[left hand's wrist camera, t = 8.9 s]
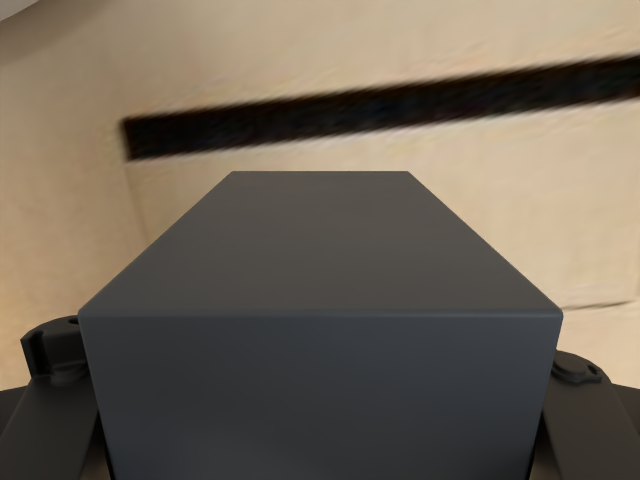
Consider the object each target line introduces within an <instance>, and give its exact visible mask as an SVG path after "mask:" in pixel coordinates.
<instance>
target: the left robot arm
mask: <svg viewBox="0 0 640 480" xmlns="http://www.w3.org/2000/svg"><path fill="white" fill-rule="evenodd" d="M77 316H78V315H73V316H67V317H62V318H58V319H54V320H52V321H49V322H46V323H44V324H41V325H39V326H37V327H36V328H34V329H32V330H30V331H29V332H28V333H27V334H26V335H25V336H23V337H22V338H21V339H20V341H21V344H22V348H23V351H24V355H25V358H26V361H27V365H28V368H29V371H30V375H31V380H30V382H29V384H28V385H27V386H23V387H18V388H13V389H8V390H3V391H0V480H115V477H114V473H113V469H112V464H111V460H110V456H109V451H108V447H107V443H106V438H105V434H104V430H103V426H102V421H101V417H100V413H99V408H98V404H97V400H96V395H95V391H94V387H93V382H92V378H91V374H90V370H89V365H88V361H87V357H86V352H85V348H84V344H83V339H82V335H81V331H80V326H79V322H78V318H77ZM526 480H640V389H636V388H631V387H626V386H621V385H617V384H613V383H611V381H610V379H609V377H608V376H607V375H606V374H605V373H604V372H603V370H602V369H601V368H599V367H598V366H596V365H595V364H593V363H592V362H591V361H589V360H587V359H584V358H582V357H580V356H577V355H575V354H571V353H567V352H563V351H558V350H557V349H556V351H555V355H554V359H553V364H552V368H551V372H550V377H549V381H548V385H547V390H546V394H545V398H544V402H543V407H542V411H541V415H540V420H539V424H538V428H537V433H536V437H535V441H534V445H533V450H532V454H531V458H530V463H529V467H528V471H527V476H526Z"/></svg>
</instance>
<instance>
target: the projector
mask: <svg viewBox="0 0 640 480" xmlns="http://www.w3.org/2000/svg"><path fill="white" fill-rule="evenodd" d="M37 1H39V0H0V21H2V20H4V19H6V18H8V17H10V16H12V15H14V14H16V13H18V12H20V11H21V10H23V9H25V8H27V7H29V6H30V5H32V4H34V3H36V2H37Z"/></svg>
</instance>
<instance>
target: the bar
mask: <svg viewBox="0 0 640 480" xmlns="http://www.w3.org/2000/svg"><path fill="white" fill-rule="evenodd" d="M77 318H78V322H79V326H80V331H81V335H82V339H83V344H84V348H85V352H86V357H87V361H88V365H89V370H90V374H91V378H92V382H93V387H94V391H95V395H96V400H97V404H98V408H99V413H100V417H101V421H102V426H103V430H104V434H105V438H106V443H107V447H108V451H109V456H110V460H111V464H112V469H113V473H114V477H115V480H526V476H527V471H528V467H529V463H530V458H531V454H532V450H533V445H534V441H535V437H536V433H537V428H538V424H539V420H540V415H541V411H542V407H543V402H544V398H545V394H546V390H547V385H548V381H549V377H550V372H551V368H552V364H553V359H554V355H555V351H556V347H557V342H558V338H559V334H560V329H561V325H562V321H563V312H562V310H561V309H560V308H559V307H558V306H557V305H556V304H554V303H553V302H552V301H551V300H550V299H549V298H548V297H547V296H546V295H545V294H543V293H542V292H541V291H540V290H539V289H538V288H537V287H536V286H535V285H533V284H532V283H531V282H530V281H529V280H528V279H527V278H526V277H525V276H523V275H522V274H521V273H520V272H519V271H518V270H517V269H516V268H515V267H513V266H512V265H511V264H510V263H509V262H508V261H507V260H506V259H505V258H504V257H502V256H501V255H500V254H499V253H498V252H497V251H496V250H495V249H494V248H492V247H491V246H490V245H489V244H488V243H487V242H486V241H485V240H484V239H482V238H481V237H480V236H479V235H478V234H477V233H476V232H475V231H474V230H472V229H471V228H470V227H469V226H468V225H467V224H466V223H465V222H464V221H463V220H461V219H460V218H459V217H458V216H457V215H456V214H455V213H454V212H453V211H451V210H450V209H449V208H448V207H447V206H446V205H445V204H444V203H443V202H441V201H440V200H439V199H438V198H437V197H436V196H435V195H434V194H433V193H431V192H430V191H429V190H428V189H427V188H426V187H425V186H424V185H423V184H422V183H420V182H419V181H418V180H417V179H416V178H415V177H414V176H413V175H412V174H410V173H409V172H408V171H233V172H231V173H230V174H229V175H228V176H226V177H225V178H224V179H223V180H222V181H221V182H220V183H219V184H218V185H216V186H215V187H214V188H213V189H212V190H211V191H210V192H209V193H208V194H207V195H205V196H204V197H203V198H202V199H201V200H200V201H199V202H198V203H197V204H196V205H194V206H193V207H192V208H191V209H190V210H189V211H188V212H187V213H186V214H184V215H183V216H182V217H181V218H180V219H179V220H178V221H177V222H176V223H175V224H173V225H172V226H171V227H170V228H169V229H168V230H167V231H166V232H165V233H164V234H162V235H161V236H160V237H159V238H158V239H157V240H156V241H155V242H154V243H152V244H151V245H150V246H149V247H148V248H147V249H146V250H145V251H144V252H143V253H141V254H140V255H139V256H138V257H137V258H136V259H135V260H134V261H133V262H132V263H130V264H129V265H128V266H127V267H126V268H125V269H124V270H123V271H122V272H120V273H119V274H118V275H117V276H116V277H115V278H114V279H113V280H112V281H111V282H109V283H108V284H107V285H106V286H105V287H104V288H103V289H102V290H101V291H100V292H98V293H97V294H96V295H95V296H94V297H93V298H92V299H91V300H90V301H88V302H87V303H86V304H85V305H84V306H83V307H82V308H81V309H80V310H79V312H78V316H77Z"/></svg>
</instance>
